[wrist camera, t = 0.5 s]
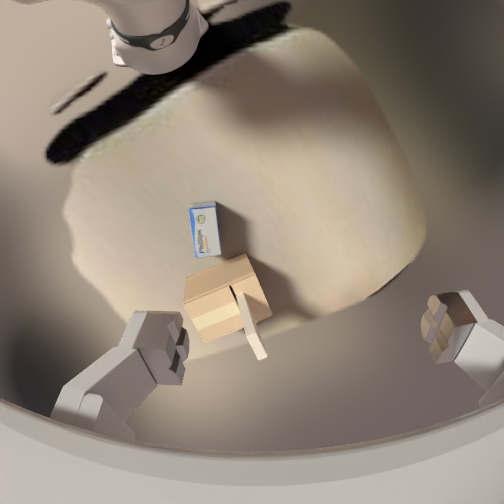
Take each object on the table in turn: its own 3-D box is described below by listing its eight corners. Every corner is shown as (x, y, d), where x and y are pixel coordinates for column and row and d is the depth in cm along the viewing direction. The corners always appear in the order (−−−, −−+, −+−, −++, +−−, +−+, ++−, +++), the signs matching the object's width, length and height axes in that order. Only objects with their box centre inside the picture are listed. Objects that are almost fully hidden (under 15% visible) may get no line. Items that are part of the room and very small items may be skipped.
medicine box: (220, 242, 55) (223, 255, 46) (196, 246, 54) (194, 259, 46) (215, 200, 52) (216, 205, 44) (190, 203, 52) (187, 209, 44)
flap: (230, 283, 45) (240, 324, 33) (254, 273, 45) (272, 310, 33) (249, 323, 47) (263, 370, 35) (272, 313, 47) (293, 357, 35)
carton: (186, 277, 55) (182, 304, 44) (245, 252, 56) (255, 273, 44) (204, 312, 58) (205, 344, 46) (260, 288, 58) (273, 316, 47)
